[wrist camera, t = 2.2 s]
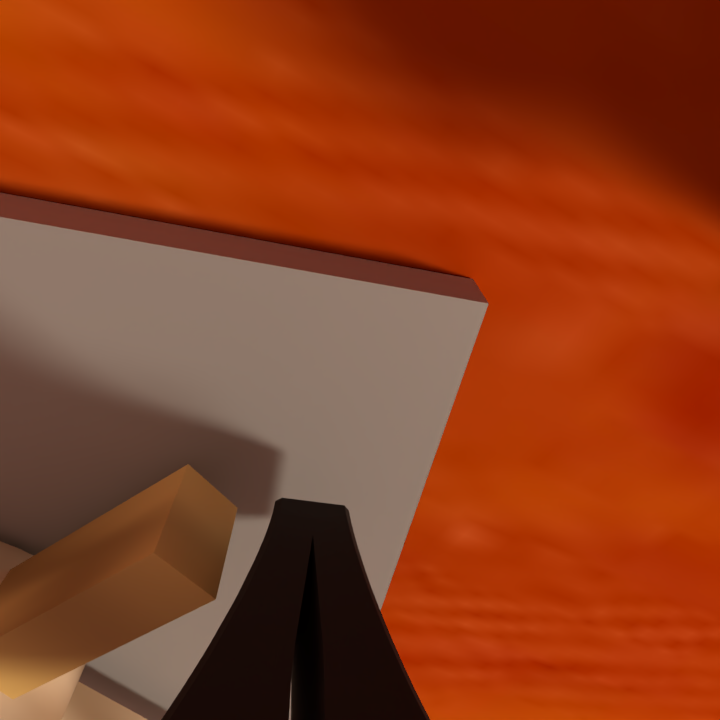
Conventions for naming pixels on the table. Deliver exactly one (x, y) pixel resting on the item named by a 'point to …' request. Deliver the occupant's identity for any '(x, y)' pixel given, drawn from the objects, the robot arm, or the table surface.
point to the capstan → (106, 594)
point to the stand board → (214, 394)
